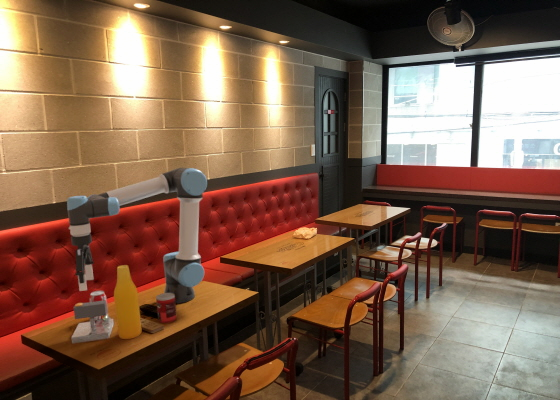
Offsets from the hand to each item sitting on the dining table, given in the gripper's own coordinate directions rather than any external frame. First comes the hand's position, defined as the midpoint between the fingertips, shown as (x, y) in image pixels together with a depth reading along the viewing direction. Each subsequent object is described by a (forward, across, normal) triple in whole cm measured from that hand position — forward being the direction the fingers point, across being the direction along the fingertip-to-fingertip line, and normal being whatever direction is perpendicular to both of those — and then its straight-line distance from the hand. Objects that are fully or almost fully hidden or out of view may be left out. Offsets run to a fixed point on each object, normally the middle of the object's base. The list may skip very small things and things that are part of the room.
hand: (86, 284), depth 188 cm
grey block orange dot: (+18, 0, 0) cm, 19 cm away
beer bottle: (+21, +6, +16) cm, 27 cm away
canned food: (+21, -4, +30) cm, 37 cm away
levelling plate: (+21, 0, 0) cm, 21 cm away
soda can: (+21, -16, 0) cm, 27 cm away
